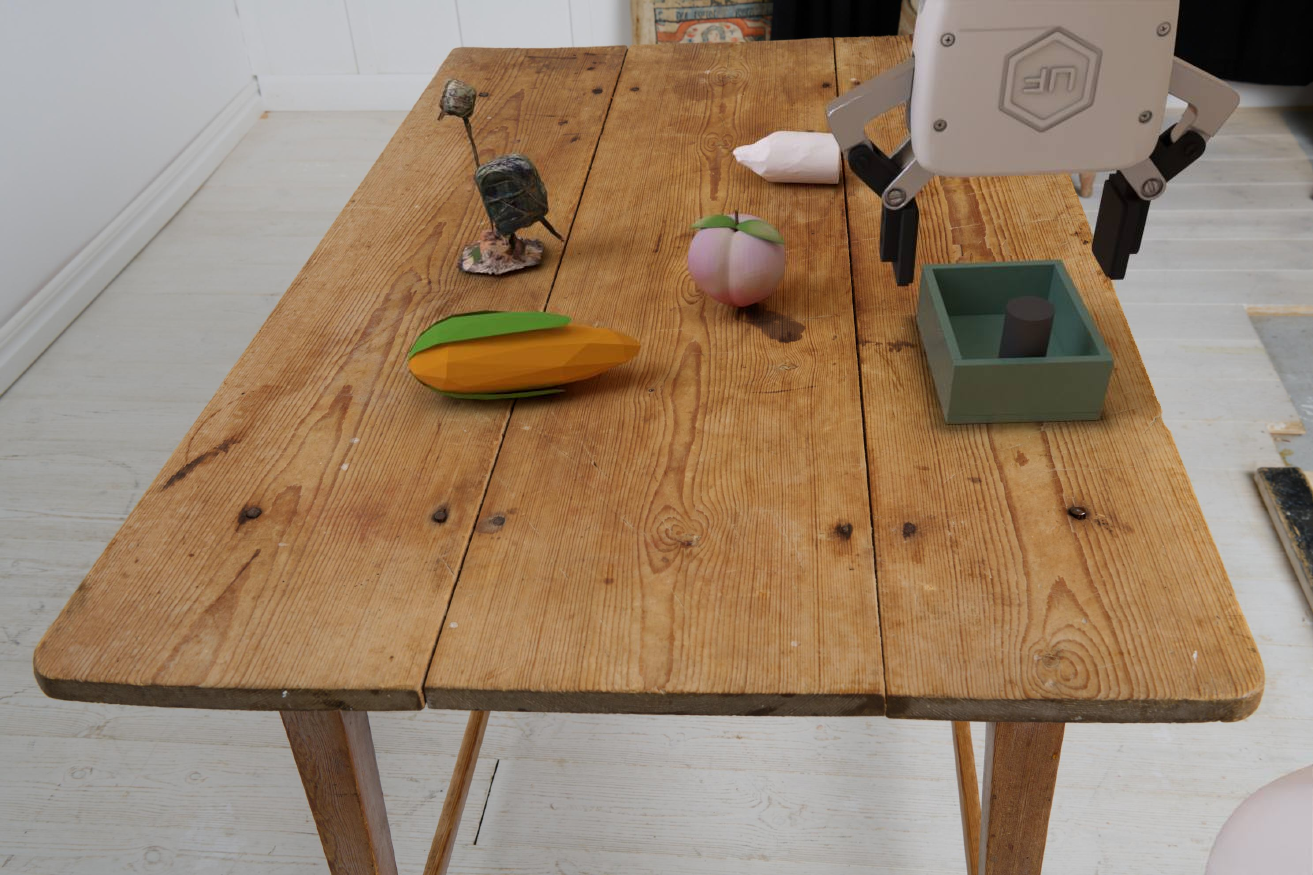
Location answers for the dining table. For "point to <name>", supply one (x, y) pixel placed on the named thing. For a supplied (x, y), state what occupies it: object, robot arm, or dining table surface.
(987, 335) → the bin
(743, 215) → the decorative fruit
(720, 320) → the dining table surface
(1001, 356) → the dark grey cylinder
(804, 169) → the white pointed cylinder
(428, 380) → the corn
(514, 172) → the long necked figurine
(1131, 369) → the dining table surface
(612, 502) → the dining table surface
